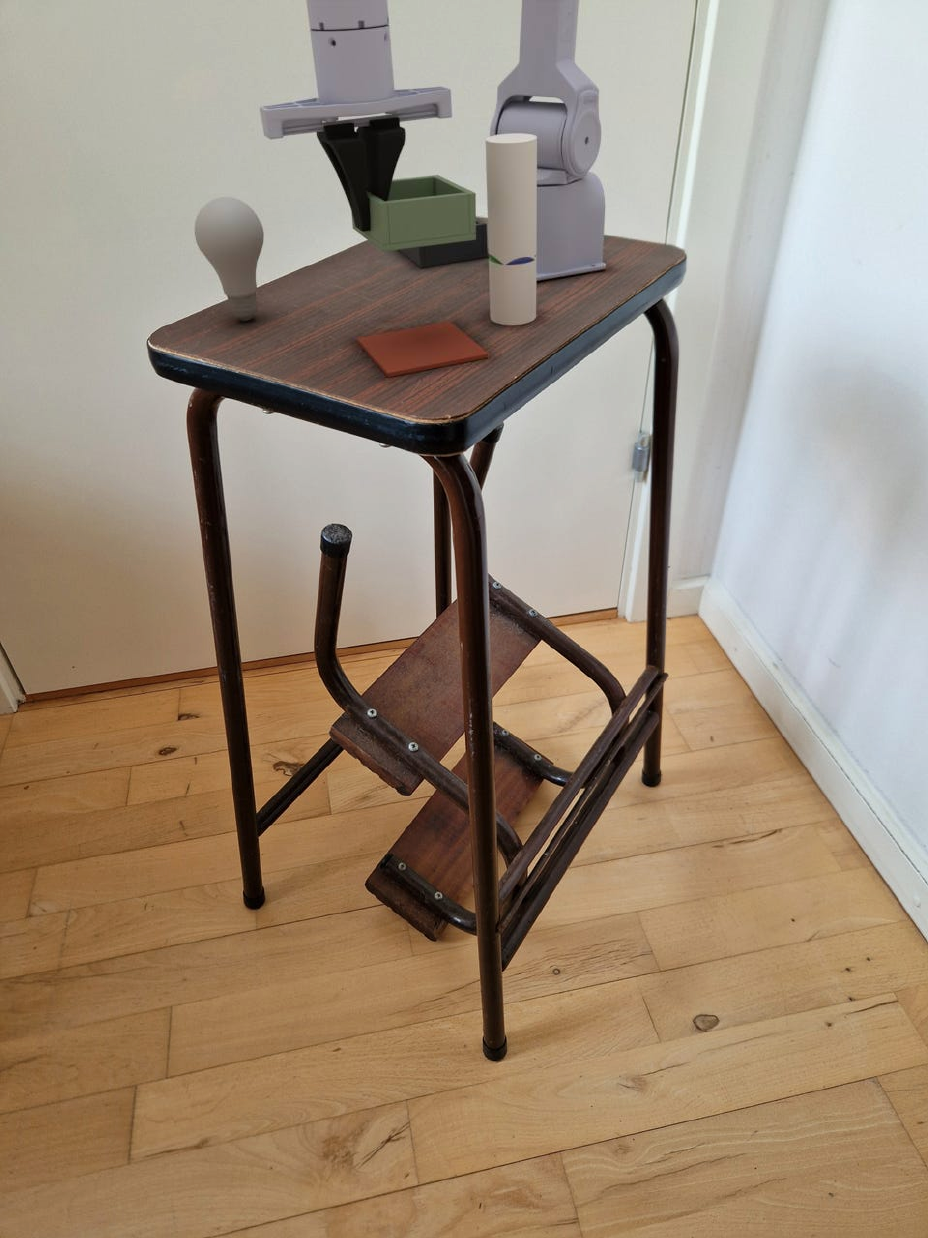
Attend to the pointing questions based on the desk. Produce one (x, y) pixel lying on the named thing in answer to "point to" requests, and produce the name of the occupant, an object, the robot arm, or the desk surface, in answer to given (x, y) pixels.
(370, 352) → the mat
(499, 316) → the tube
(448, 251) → the box
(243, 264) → the lightbulb
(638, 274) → the desk surface
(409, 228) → the box
